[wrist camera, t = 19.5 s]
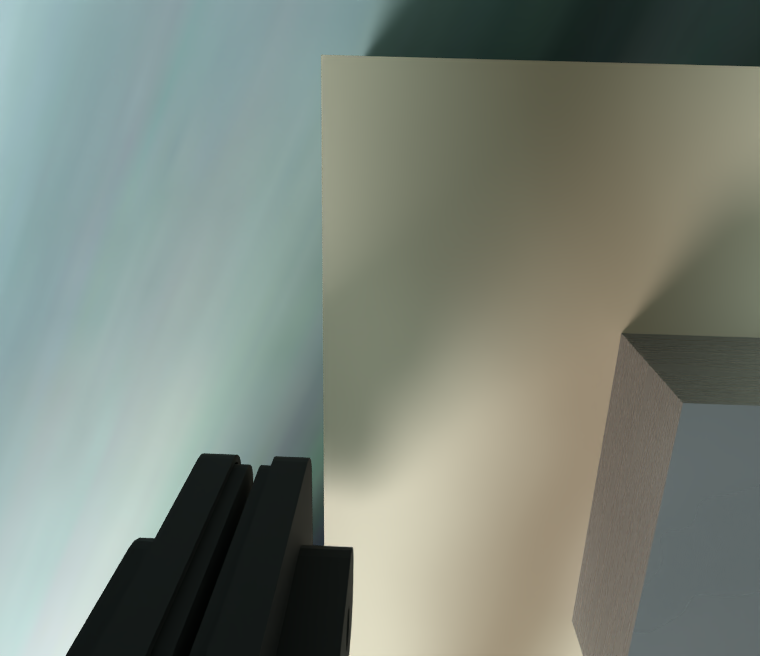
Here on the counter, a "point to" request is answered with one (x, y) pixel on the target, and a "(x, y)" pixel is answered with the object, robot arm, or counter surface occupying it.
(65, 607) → the counter surface
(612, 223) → the lid
